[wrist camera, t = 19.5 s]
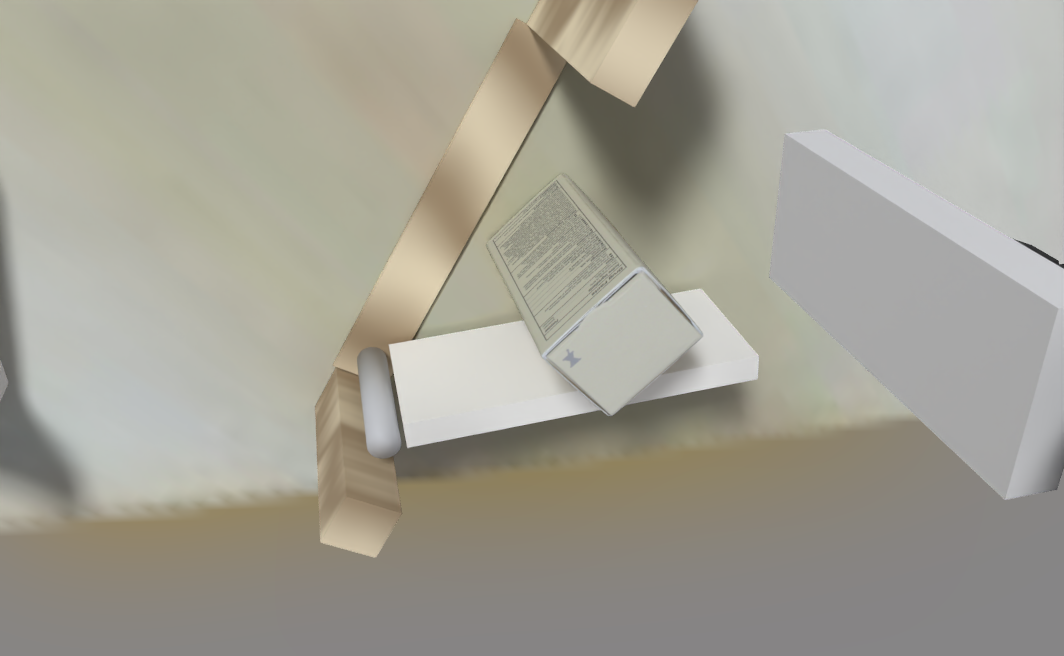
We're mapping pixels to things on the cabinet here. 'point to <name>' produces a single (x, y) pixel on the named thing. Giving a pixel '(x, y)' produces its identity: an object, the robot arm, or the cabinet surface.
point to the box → (589, 297)
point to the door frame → (469, 224)
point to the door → (518, 379)
